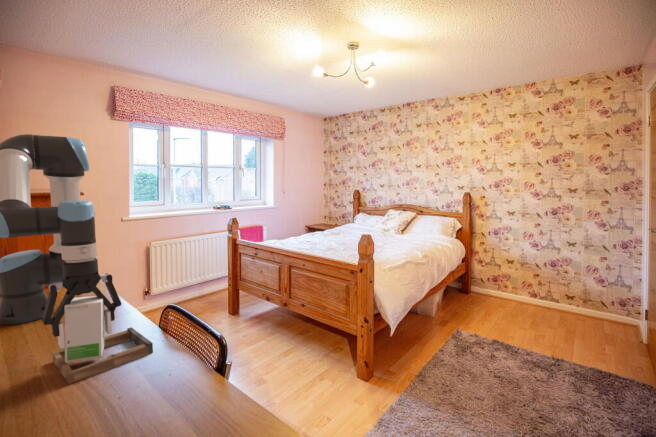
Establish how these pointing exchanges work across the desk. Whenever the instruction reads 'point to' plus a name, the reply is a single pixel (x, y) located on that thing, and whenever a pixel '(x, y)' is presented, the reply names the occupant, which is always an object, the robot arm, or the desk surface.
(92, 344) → the skincare box
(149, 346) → the brown wooden shallow tray
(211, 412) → the desk surface
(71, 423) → the desk surface
